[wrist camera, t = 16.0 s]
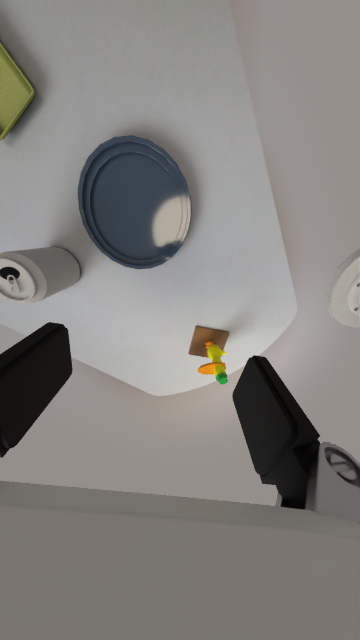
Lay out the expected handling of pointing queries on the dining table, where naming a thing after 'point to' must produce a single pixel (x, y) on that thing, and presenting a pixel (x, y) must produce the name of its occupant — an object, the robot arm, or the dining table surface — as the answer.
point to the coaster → (206, 335)
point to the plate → (134, 202)
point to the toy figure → (214, 363)
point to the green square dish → (12, 92)
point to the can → (36, 273)
